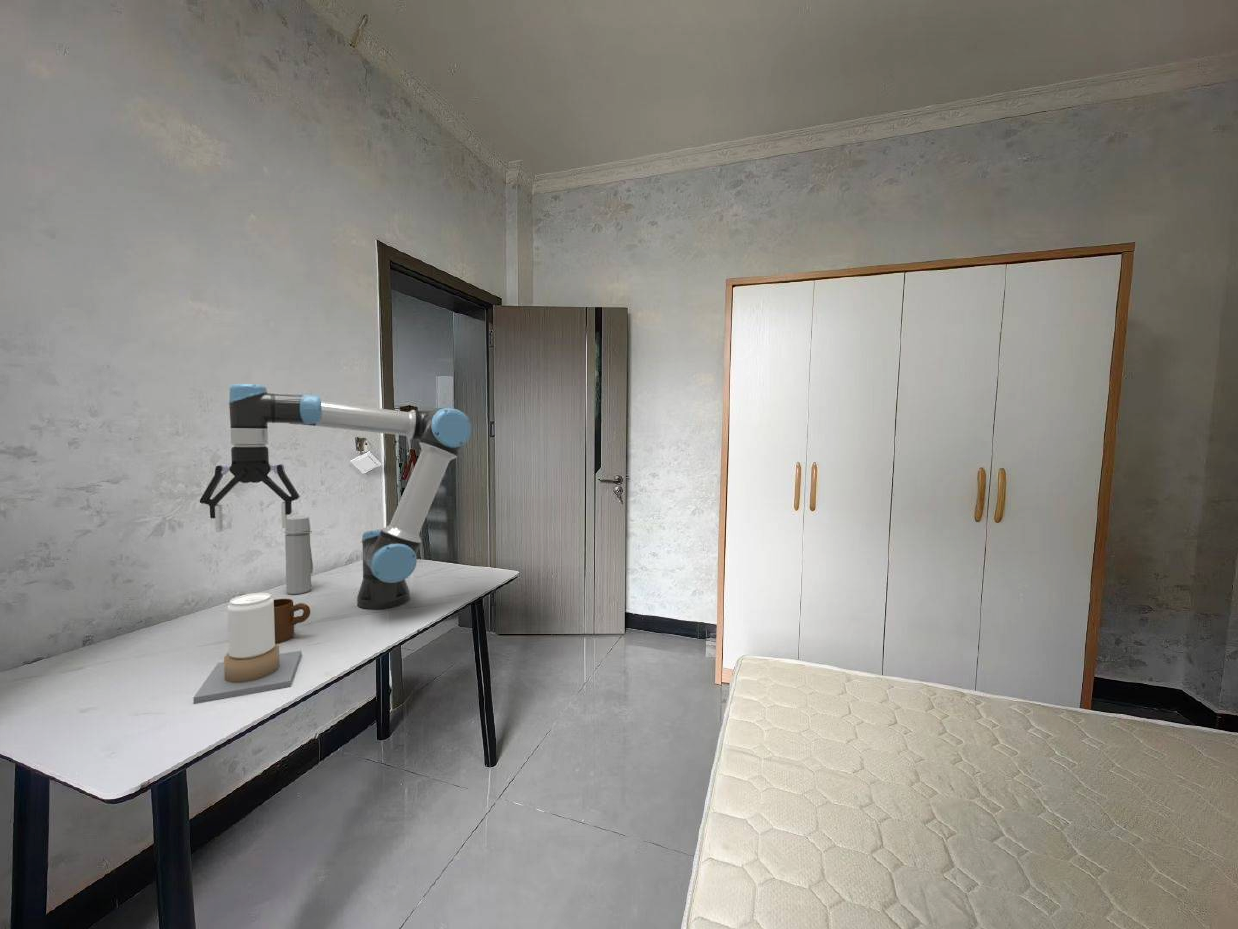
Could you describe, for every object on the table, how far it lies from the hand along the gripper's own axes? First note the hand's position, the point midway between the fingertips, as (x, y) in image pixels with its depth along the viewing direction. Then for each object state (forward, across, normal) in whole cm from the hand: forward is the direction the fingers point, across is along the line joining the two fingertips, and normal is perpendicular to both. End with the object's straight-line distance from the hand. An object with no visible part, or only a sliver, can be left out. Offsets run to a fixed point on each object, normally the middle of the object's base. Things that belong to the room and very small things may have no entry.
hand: (252, 529), depth 125 cm
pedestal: (+29, -4, +24) cm, 37 cm away
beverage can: (+23, -4, +24) cm, 34 cm away
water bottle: (+29, -5, -40) cm, 50 cm away
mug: (+29, -7, +3) cm, 30 cm away
